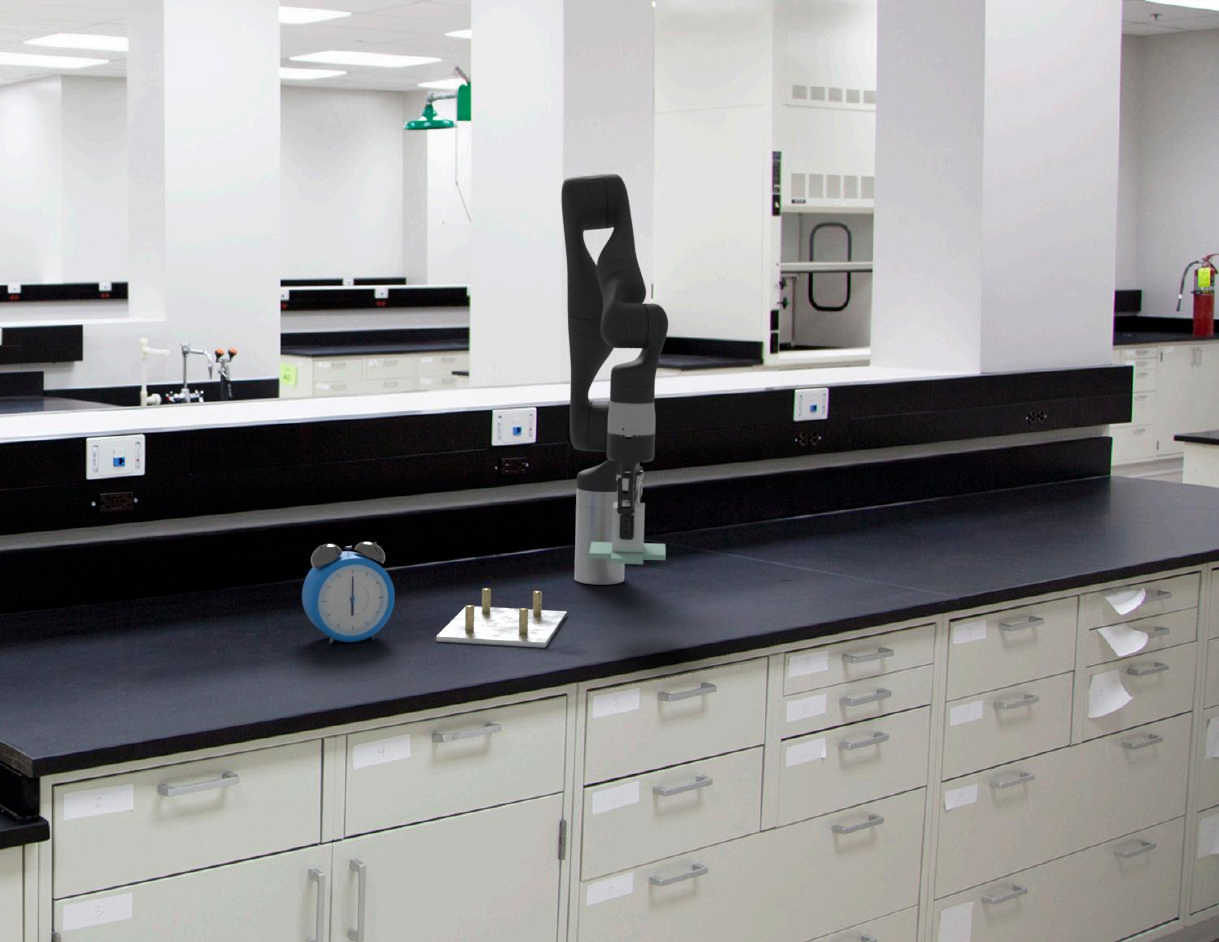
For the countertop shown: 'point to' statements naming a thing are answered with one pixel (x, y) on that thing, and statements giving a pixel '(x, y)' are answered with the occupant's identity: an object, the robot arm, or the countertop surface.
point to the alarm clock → (348, 592)
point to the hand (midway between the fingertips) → (628, 535)
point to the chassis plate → (503, 624)
